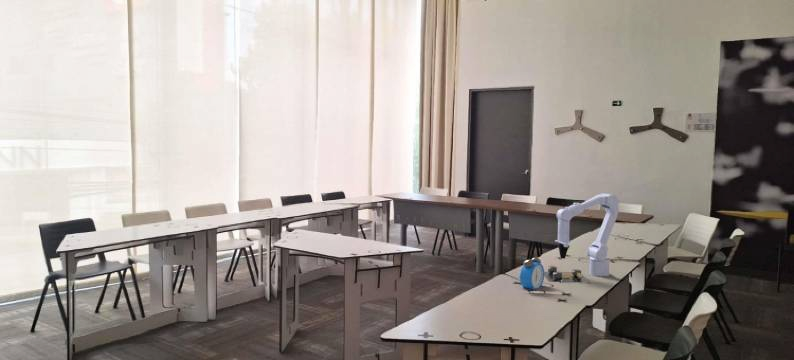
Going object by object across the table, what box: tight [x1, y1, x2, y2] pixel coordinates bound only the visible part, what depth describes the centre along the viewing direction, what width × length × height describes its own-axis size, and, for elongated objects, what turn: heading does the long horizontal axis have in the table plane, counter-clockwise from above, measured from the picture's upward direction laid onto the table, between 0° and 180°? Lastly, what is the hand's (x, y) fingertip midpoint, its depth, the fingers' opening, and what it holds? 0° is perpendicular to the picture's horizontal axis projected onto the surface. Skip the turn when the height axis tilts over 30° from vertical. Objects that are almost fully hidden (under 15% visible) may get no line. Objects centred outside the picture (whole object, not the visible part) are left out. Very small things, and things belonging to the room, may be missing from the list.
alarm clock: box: [519, 256, 545, 292], centre depth 253 cm, size 13×6×15 cm, turn 136°
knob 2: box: [553, 271, 573, 280], centre depth 266 cm, size 10×4×3 cm, turn 85°
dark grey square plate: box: [544, 271, 590, 284], centre depth 272 cm, size 20×20×2 cm
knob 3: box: [571, 269, 583, 278], centre depth 268 cm, size 10×4×3 cm, turn 175°
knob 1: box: [547, 264, 558, 274], centre depth 281 cm, size 10×4×3 cm, turn 162°
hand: (562, 258), depth 274 cm, fingers closed
